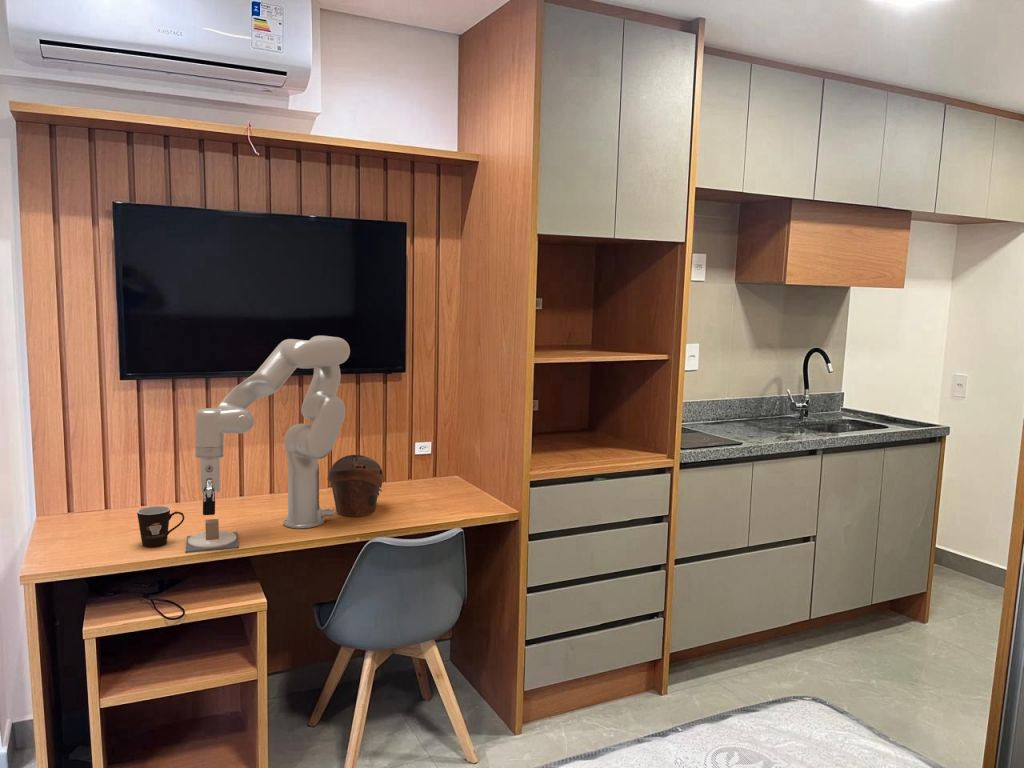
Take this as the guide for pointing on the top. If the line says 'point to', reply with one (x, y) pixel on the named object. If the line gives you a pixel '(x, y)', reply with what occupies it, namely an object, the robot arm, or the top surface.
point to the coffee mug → (155, 525)
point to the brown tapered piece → (355, 485)
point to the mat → (230, 546)
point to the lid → (212, 536)
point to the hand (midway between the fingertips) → (209, 510)
